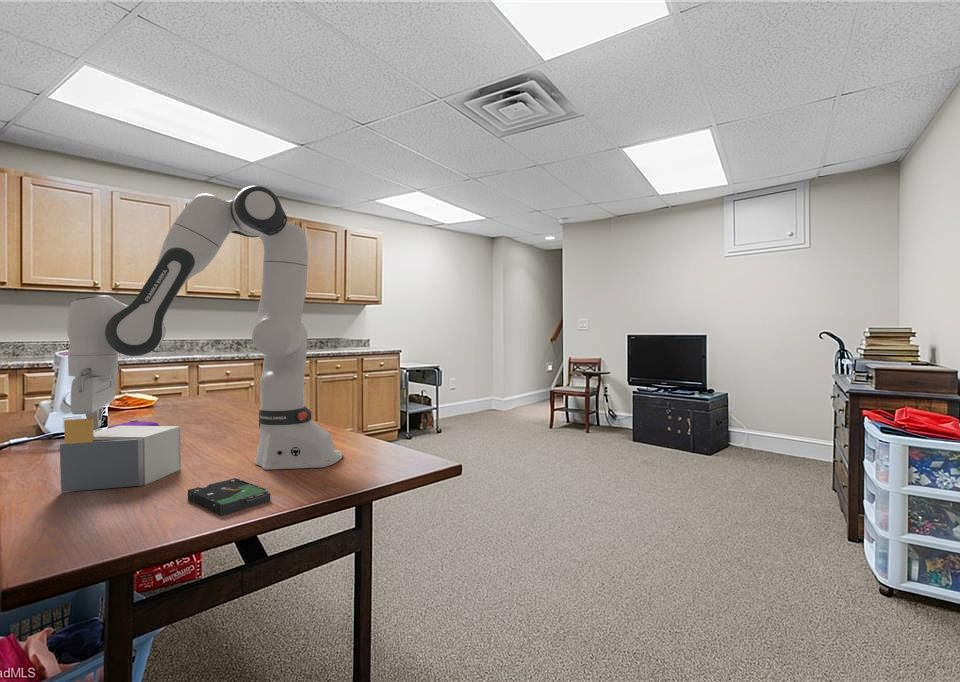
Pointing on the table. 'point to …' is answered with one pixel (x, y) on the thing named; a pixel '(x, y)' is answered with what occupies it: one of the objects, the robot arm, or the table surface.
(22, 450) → the table surface
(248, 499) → the disk drive
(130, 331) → the robot arm
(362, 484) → the table surface
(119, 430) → the box
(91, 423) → the side door
